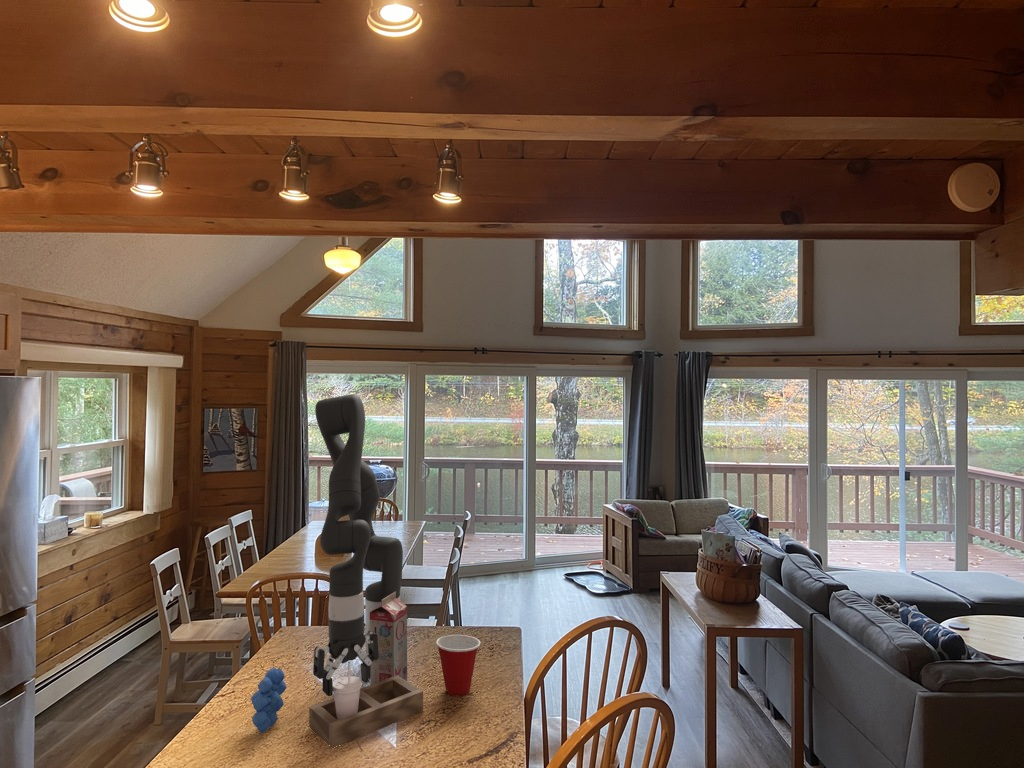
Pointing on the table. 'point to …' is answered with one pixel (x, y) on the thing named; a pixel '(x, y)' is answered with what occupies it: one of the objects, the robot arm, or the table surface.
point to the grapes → (268, 699)
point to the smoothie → (346, 694)
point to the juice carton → (389, 639)
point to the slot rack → (367, 711)
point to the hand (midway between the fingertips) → (347, 688)
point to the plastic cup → (457, 662)
